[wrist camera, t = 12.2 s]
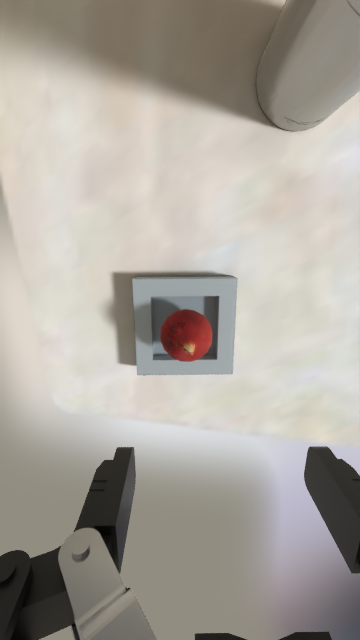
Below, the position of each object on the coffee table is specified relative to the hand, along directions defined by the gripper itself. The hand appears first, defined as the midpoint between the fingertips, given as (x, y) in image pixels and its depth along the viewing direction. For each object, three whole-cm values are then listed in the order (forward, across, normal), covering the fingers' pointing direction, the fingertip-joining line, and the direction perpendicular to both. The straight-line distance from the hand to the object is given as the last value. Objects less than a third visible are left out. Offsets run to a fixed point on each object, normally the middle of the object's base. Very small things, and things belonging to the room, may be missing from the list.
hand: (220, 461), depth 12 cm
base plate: (+23, +1, 0) cm, 23 cm away
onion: (+22, +1, 0) cm, 23 cm away
